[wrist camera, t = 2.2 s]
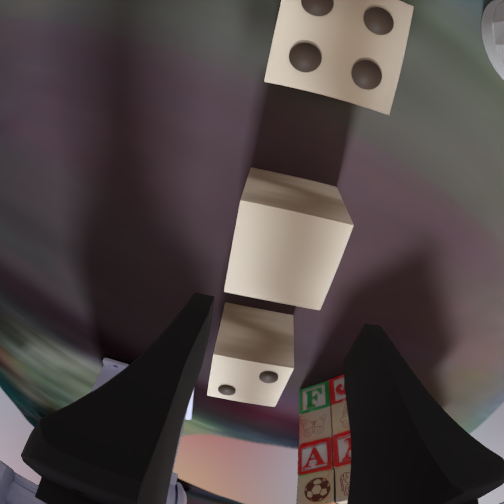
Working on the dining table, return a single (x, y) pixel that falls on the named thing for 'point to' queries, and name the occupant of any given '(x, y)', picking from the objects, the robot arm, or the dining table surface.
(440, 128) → the dining table surface
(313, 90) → the dotted block
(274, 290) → the plain block
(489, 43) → the cup
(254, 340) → the dotted block
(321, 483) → the stack of blocks
